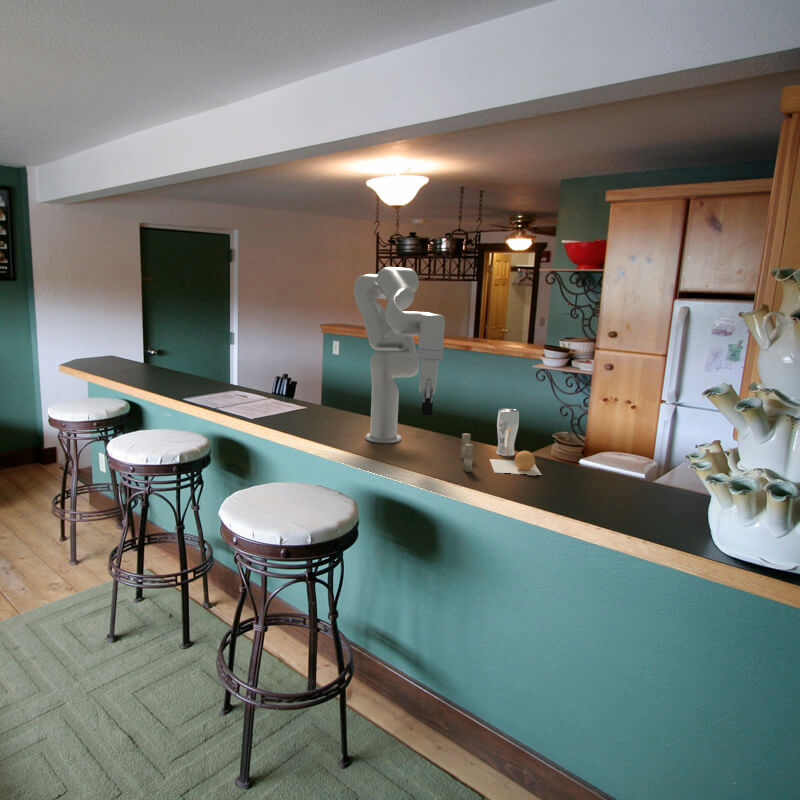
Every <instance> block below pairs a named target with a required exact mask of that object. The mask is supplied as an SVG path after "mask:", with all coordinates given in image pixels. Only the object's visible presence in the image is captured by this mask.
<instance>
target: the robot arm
mask: <svg viewBox="0 0 800 800" xmlns="http://www.w3.org/2000/svg"><path fill="white" fill-rule="evenodd" d="M419 282H420V281H419V276H418V274H417V271H415V270H414V269H412V268H406V267H395V266H393V267H392V266H387V267H383V268H381V269H380V270H379V271H378V272H377V274H376V273H374V274H373V273H368V274H363V275H359V276H358V277H357V278H356V279H355V282H354V285H353V294H354V299H355V303H356V305H357V308H358V310H359V312H360V315H362V318H363V319H362V320H363V324H364V328H365V332H366V336H367V339H368V344H369V346H370V347H371V348H372V349H373V350H374V351H375V350H377V351H376V352H374V353H373V354H372V355H371V356H370V360H369V369H370V376H371V399H370V400H371V401H370V402H371V404H370V405H371V406H370V430H369V432H368V433H366V434H365V440H367V441H369V442H372V443H377V444H378V443H379V444H392V443H398V442H400V441H402V435H400V434H398V417H399V416H398V415H399V398H400V397H399V396H400V395H399V394H400V392H399V387H398V386H397V383H396V382H395V381H394V379H396V378H398V379H399V378H413V377H414V376H417V374H418V373H419V381H418V393H420V394H422V393H423V399H422V401H421V402H422V403H421V415H422V416H433V409H434V408H433V406H434V405H433V404H434V401H433V395H434V394H435V393H436V389H437V382H438V373H439V362H443V361H444V360H443V357H444V356H443V354H444V339H445V338H444V337H445V326H446V325H445V324H446V323H445V322H446V320H445V316H444V315H443V314H438V313H432V312H430V311H429V312H428V311H407V310H406V311H405V309H407V308H409V307H410V306H411V305H412V303H413V302H414V299H415V298H414V297H415V292H417V290H418V288H419V285H420V284H419ZM376 299H381V300H387V303H386V306H385V308H384V307H383V306H382V305H381V304H380V303H379V302H378V301H377V300H376ZM414 337H418V347H417V348H416V345H415V341H414Z"/></svg>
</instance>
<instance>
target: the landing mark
mask: <svg viewBox="0 0 800 800" xmlns="http://www.w3.org/2000/svg"><path fill="white" fill-rule="evenodd" d="M489 461H490V464H491V467H492V469H493V470H494V471H493V473H494V474H504V473H511V474H510V475H520V474H527V475H526V476H536V475H541V476H542V473H541V472H540V470H539V468H538V467H537V465H536V463H535V464H534V466H533V467H532V468H531V469H530V470H526V471H524V470H521V469H519V468H518V467H517V466H516V464H515V459H514V460H511V459H510V460H509V459H496V458H495V459H494V458H489ZM541 476H540V477H541Z"/></svg>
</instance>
